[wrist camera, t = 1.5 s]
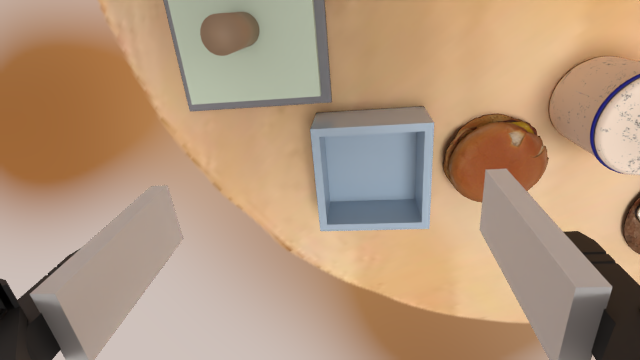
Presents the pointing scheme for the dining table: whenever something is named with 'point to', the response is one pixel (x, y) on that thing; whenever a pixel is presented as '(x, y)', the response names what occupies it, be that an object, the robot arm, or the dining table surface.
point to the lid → (247, 49)
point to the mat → (324, 98)
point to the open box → (373, 168)
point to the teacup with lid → (602, 111)
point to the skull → (633, 227)
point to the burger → (494, 154)
